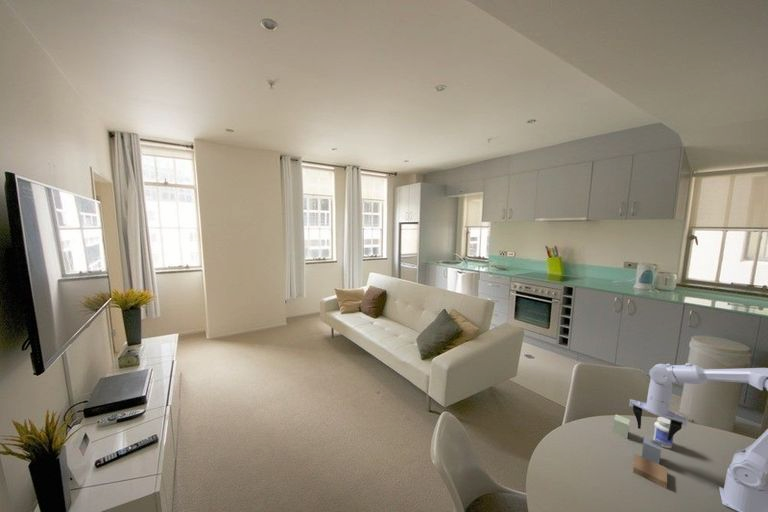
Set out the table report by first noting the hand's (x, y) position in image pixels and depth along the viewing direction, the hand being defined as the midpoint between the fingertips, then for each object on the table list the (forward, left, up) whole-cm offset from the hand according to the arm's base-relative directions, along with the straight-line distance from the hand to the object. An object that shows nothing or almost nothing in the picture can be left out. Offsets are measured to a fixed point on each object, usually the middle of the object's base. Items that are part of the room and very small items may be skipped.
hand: (653, 433), depth 99 cm
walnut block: (0, +9, -10) cm, 14 cm away
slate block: (0, 0, -10) cm, 10 cm away
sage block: (+9, -8, -10) cm, 15 cm away
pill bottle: (-3, -13, -10) cm, 17 cm away
